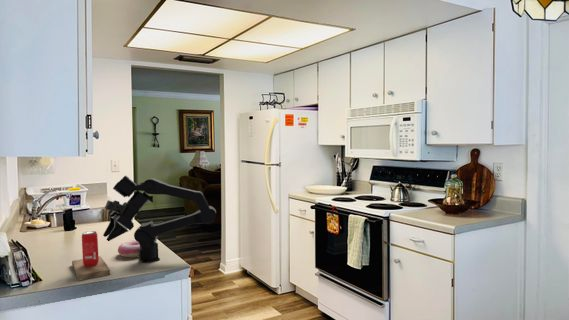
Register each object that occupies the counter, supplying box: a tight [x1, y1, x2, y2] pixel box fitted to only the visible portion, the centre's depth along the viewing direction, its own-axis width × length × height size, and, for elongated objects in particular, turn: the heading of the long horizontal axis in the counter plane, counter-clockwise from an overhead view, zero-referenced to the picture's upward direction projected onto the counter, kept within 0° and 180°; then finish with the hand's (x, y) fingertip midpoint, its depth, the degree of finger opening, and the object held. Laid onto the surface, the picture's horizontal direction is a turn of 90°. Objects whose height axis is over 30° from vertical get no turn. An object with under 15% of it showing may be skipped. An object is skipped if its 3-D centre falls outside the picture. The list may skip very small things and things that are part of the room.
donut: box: [117, 239, 140, 258], centre depth 167 cm, size 14×13×5 cm
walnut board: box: [71, 255, 111, 281], centre depth 148 cm, size 10×20×2 cm, turn 33°
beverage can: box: [81, 230, 99, 267], centre depth 148 cm, size 5×5×12 cm
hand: (105, 238), depth 151 cm, fingers open, 9 cm apart
